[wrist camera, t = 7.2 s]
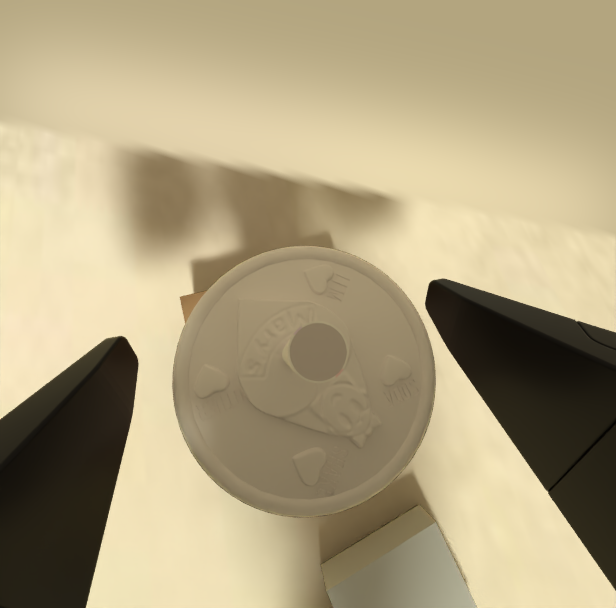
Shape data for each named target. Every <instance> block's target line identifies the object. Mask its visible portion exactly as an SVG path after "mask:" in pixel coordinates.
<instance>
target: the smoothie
mask: <svg viewBox="0 0 616 608" xmlns="http://www.w3.org/2000/svg"><path fill="white" fill-rule="evenodd" d="M172 386H173V400H174V406H175V411H176V416H177V419H178V423H179V426H180V429H181V432H182V434H183V437H184V439H185V441H186V443H187V445H188V447H189V449H190V451H191V453H192V454H193V456H194V457H195V459H196V461H197V462H198V464H199V465H200V466H201V467H202V469H203V470H204V471H205V472H206V473H207V475H208V476H209V477H210V478H211V479H212V480H213V481H214V482H215V483H216V484H217V485H218V486H220V487H221V488H222V489H223V490H225V491H226V492H227V493H229V494H230V495H232V496H233V497H235V498H236V499H238V500H240V501H241V502H243V503H245V504H247V505H249V506H252V507H254V508H256V509H259V510H262V511H265V512H268V513H272V514H276V515H281V516H288V517H318V516H326V515H330V514H335V513H338V512H341V511H344V510H347V509H350V508H353V507H355V506H357V505H359V504H361V503H363V502H365V501H367V500H368V499H370V498H372V497H374V496H375V495H376V494H378V493H379V492H381V491H382V490H383V489H385V488H386V487H387V486H388V485H389V484H390V483H391V482H392V481H394V480H395V479H396V478H397V477H398V475H399V474H400V473H401V472H402V471H403V470H404V469H405V467H406V466H407V465H408V463H409V462H410V461H411V459H412V458H413V456H414V455H415V453H416V451H417V449H418V448H419V446H420V444H421V442H422V440H423V438H424V435H425V433H426V430H427V427H428V425H429V422H430V418H431V414H432V410H433V405H434V398H435V386H436V376H435V363H434V356H433V351H432V347H431V343H430V340H429V337H428V333H427V331H426V329H425V326H424V324H423V321H422V320H421V318H420V316H419V314H418V312H417V310H416V309H415V307H414V305H413V304H412V302H411V301H410V300H409V298H408V297H407V296H406V294H405V293H404V292H403V291H402V290H401V289H400V287H399V286H398V285H397V284H396V283H395V282H394V281H393V280H392V279H390V278H389V277H388V276H387V275H386V274H385V273H383V272H382V271H381V270H379V269H378V268H376V267H375V266H373V265H372V264H370V263H368V262H367V261H365V260H363V259H360V258H358V257H356V256H354V255H351V254H349V253H346V252H343V251H339V250H336V249H331V248H326V247H319V246H292V247H284V248H279V249H274V250H271V251H267V252H264V253H261V254H259V255H256V256H254V257H251V258H249V259H247V260H245V261H243V262H242V263H240V264H238V265H237V266H235V267H234V268H232V269H230V270H229V271H228V272H227V273H225V274H224V275H223V276H221V277H220V278H219V279H218V280H217V281H216V282H215V283H214V284H213V285H212V286H211V287H210V288H209V289H208V290H207V291H206V292H205V294H204V295H203V296H202V297H201V299H200V300H199V301H198V303H197V304H196V306H195V307H194V309H193V311H192V312H191V314H190V316H189V318H188V319H187V322H186V324H185V326H184V328H183V330H182V333H181V336H180V339H179V342H178V345H177V350H176V354H175V359H174V367H173V383H172Z"/></svg>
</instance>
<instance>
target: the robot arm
mask: <svg viewBox="0 0 616 608" xmlns="http://www.w3.org/2000/svg"><path fill="white" fill-rule="evenodd" d="M425 306H426V310H427V312H428V313H429V315H430V317H431V319H432V321H433V323H434V324H435V326H436V328H437V330H438V332H439V334H440V336H441V337H442V339H443V341H444V343H445V344H446V346H447V348H448V349H449V351H450V352H451V354H452V355H453V357H454V358H455V360H456V361H457V363H458V364H459V366H460V367H461V368H462V370H463V371H464V373H465V374H466V376H467V377H468V378H469V380H470V381H471V383H472V384H473V386H474V387H475V389H476V390H477V391H478V393H479V394H480V396H481V397H482V399H483V400H484V401H485V403H486V404H487V406H488V407H489V409H490V410H491V412H492V413H493V414H494V416H495V417H496V419H497V420H498V422H499V423H500V424H501V426H502V427H503V429H504V430H505V432H506V433H507V435H508V436H509V437H510V439H511V440H512V442H513V443H514V445H515V446H516V448H517V449H518V450H519V452H520V453H521V455H522V456H523V458H524V459H525V460H526V462H527V463H528V465H529V466H530V468H531V469H532V471H533V472H534V473H535V475H536V476H537V478H538V479H539V481H540V482H541V483H542V485H543V486H544V488H545V489H546V491H548V494H549V495H550V497H551V498H552V500H553V501H554V502H555V504H556V505H557V507H558V508H559V510H560V511H561V513H562V514H563V515H564V517H565V518H566V520H567V521H568V523H569V524H570V525H571V527H572V528H573V530H574V531H575V533H576V534H577V536H578V537H579V538H580V540H581V541H582V543H583V544H584V546H585V547H586V548H587V550H588V551H589V553H590V554H591V556H592V557H593V559H594V560H595V561H596V563H597V564H598V566H599V567H600V569H601V570H602V572H603V573H604V574H605V576H606V577H607V579H608V580H609V582H610V583H611V584H612V586H613V587H614V589H615V590H616V333H615V332H612V331H609V330H605V329H602V328H599V327H596V326H592V325H589V324H586V323H583V322H580V321H577V322H576V321H575V320H573V319H570V318H567V317H564V316H561V315H558V314H555V313H551V312H548V311H545V310H542V309H539V308H536V307H532V306H529V305H526V304H523V303H520V302H517V301H514V300H510V299H507V298H504V297H501V296H498V295H495V294H492V293H488V292H485V291H482V290H479V289H476V288H473V287H470V286H466V285H463V284H460V283H457V282H454V281H451V280H447V279H438V280H433V281H431V282H430V283H429V286H428V291H427V296H426V301H425ZM137 373H138V358H137V356H136V354H135V352H134V351H133V349H132V347H131V346H130V344H129V342H128V341H127V339H126V338H125V337H123V336H118V337H112V338H107V339H105V340H104V341H102V342H101V343H100V344H98V345H97V346H96V347H95V348H93V349H92V350H91V351H89V352H88V353H87V354H85V355H84V356H83V357H81V358H80V359H79V360H77V361H76V362H75V363H74V364H72V365H71V366H70V367H68V368H67V369H66V370H64V371H63V372H62V373H60V374H59V375H58V376H57V377H55V378H54V379H53V380H51V381H50V382H49V383H47V384H46V385H45V386H43V387H42V388H41V389H39V390H38V391H37V392H36V393H34V394H33V395H32V396H30V397H29V398H28V399H26V400H25V401H24V402H22V403H21V404H20V405H19V406H17V407H16V408H15V409H13V410H12V411H11V412H9V413H8V414H7V415H5V416H4V417H3V418H1V419H0V608H86V605H87V601H88V596H89V592H90V588H91V584H92V580H93V576H94V572H95V568H96V563H97V559H98V555H99V551H100V547H101V543H102V539H103V535H104V531H105V526H106V522H107V518H108V514H109V510H110V506H111V502H112V498H113V493H114V489H115V485H116V481H117V477H118V473H119V469H120V465H121V461H122V456H123V452H124V448H125V444H126V440H127V436H128V432H129V428H130V423H131V419H132V414H133V407H134V399H135V390H136V382H137Z"/></svg>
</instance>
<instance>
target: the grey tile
mask: <svg viewBox="0 0 616 608" xmlns="http://www.w3.org/2000/svg"><path fill="white" fill-rule="evenodd" d="M321 567H322V572H323V577H324V582H325V587H326V592H327V594H328V596H329V599H330V601H331V604H332V606H333V608H477V606H476V604H475V602H474V600H473V598H472V596H471V594H470V592H469V589H468V587H467V585H466V583H465V581H464V579H463V577H462V575H461V573H460V571H459V569H458V567H457V565H456V562H455V560H454V558H453V556H452V554H451V552H450V550H449V548H448V546H447V544H446V542H445V540H444V538H443V535H442V533H441V531H440V529H439V527H438V525H437V523H436V521H435V520H434V519H433V518H432V517H431V516H430V515H429V514H428V513H427V512H426V511H425V510H424V509H423V508H422V507H421V506H420V504H419V505H417V506H416V507H414V508H413V509H411V510H409V511H408V512H406V513H404V514H403V515H401V516H399V517H398V518H396V519H395V520H393V521H391V522H390V523H388V524H386V525H385V526H383V527H382V528H380V529H378V530H377V531H375V532H373V533H372V534H370V535H369V536H367V537H365V538H364V539H362V540H360V541H359V542H357V543H355V544H354V545H352V546H351V547H349V548H347V549H346V550H344V551H342V552H341V553H339V554H338V555H336V556H334V557H333V558H331V559H329V560H328V561H326V562H325V563H323V564H321Z"/></svg>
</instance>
